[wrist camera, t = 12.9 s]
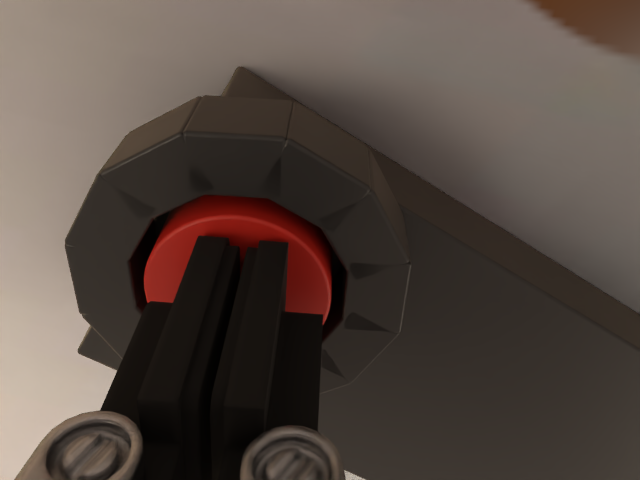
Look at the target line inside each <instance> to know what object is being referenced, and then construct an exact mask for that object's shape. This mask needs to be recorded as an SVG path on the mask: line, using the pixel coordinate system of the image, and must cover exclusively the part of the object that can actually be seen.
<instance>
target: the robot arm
mask: <svg viewBox="0 0 640 480" xmlns="http://www.w3.org/2000/svg"><path fill="white" fill-rule="evenodd" d="M288 249H289V243H288V242H277V241H265V240H260V241H259V244H258V248H256V247H248V248H247V251H246V255H245V259H244V263H243V267H242V272H241V276H240V248H239V246H231V245H230V242H229V238H227V237H214V236H201V235H200V236H198V238H197V240H196V243H195V245H194V248H193V251H192V253H191V256H190V259H189V261H188V264H187V267H186V269H185V272H184V275H183V277H182V280H181V283H180V285H179V288H178V291H177V293H176V296H175V299H174V301H173V303H170V302H157V301H150V302H148V303H147V305H146V307H145V308H144V311H143V313H142V315H141V317H140V320H139V322H138V324H137V327H136V329H135V331H134V334H133V336H132V338H131V341H130V343H129V345H128V347H127V350H126V352H125V354H124V357H123V359H122V361H121V364H120V366H119V368H118V371H117V373H116V375H115V378H114V380H113V382H112V384H111V387H110V389H109V391H108V394H107V396H106V398H105V401H104V403H103V405H102V408H101V410H100V411H93V412H87V413H82V414H79V415H77V416H74V417H72V418H69V419H67V420H65V421H64V422H62V423H61V424H59V425H58V426H56V427H55V428H53V429H52V430H51V431H50V432H49V433H48V434H47V435H46V437H45V438H44V439H43V440H42V441H41V442H40V444H39V445H38V447H37V448H36V449H35V451H34V452H33V454H32V455H31V457H30V458H29V459H28V461H27V462H26V464H25V465H24V467H23V468H22V469H21V471H20V472H19V474H18V475H17V477H16V478H15V479H14V480H346V479H345V473H344V467H343V463H342V460H341V457H340V454H339V451H338V450H337V448H336V447H335V446H334V445H333V443H332V442H331V441H330V440H329V439H328V438H327V437H325V436H324V435H322V434H321V433H319V432H318V415H319V394H320V373H321V351H322V330H323V314H311V313H298V312H285V307H286V288H287V269H288Z"/></svg>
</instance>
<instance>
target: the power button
mask: <svg viewBox="0 0 640 480" xmlns="http://www.w3.org/2000/svg"><path fill="white" fill-rule="evenodd" d="M200 235H201V236H214V237H227V238H229V242H230V245H231V246H239V248H240V276H241V272H242V267H243V263H244V259H245V255H246V251H247V248H248V247H256V248H258V244H259V241H260V240H265V241H277V242H288V243H289V249H288V269H287V288H286V307H285V312H298V313H311V314H323V324H324V323H325V321H326V319H327V316H328V313H329V310H330V305H331V295H332V257H333V248H332V246H331V245H330V243H329V241H328V240H327V238H326V236H325V235H324V233H323V231H322V230H321V228H319V227H318V226H316V225H314V224H312V223H310V222H309V221H307V220H305V219H303V218H302V217H300V216H298V215H296V214H294V213H293V212H291V211H289V210H287V209H286V208H284V207H282V206H280V205H278V204H277V203H275V202H273V201H271V200H270V199H268V198H251V197H234V196H217V195H203V196H201V197H199V198H197V199H195V200H192V201H190V202H188V203H186V204H184V205H182V206H180V207H177V208H175V209H173V210H171V211H170V213H169V215H168V217H167V219H166V222H165V224H164V226H163V228H162V230H161V232H160V234H159V237H158V239H157V241H156V243H155V245H154V247H153V249H152V251H151V254H150V256H149V258H148V260H147V263H146V267H145V272H144V290H145V295H146V299H147V302H150V301H157V302H170V303H173V301H174V299H175V296H176V293H177V291H178V288H179V285H180V283H181V280H182V277H183V275H184V272H185V269H186V267H187V264H188V261H189V259H190V256H191V253H192V251H193V248H194V245H195V243H196V240H197V238H198V236H200Z"/></svg>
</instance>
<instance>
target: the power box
mask: <svg viewBox="0 0 640 480" xmlns="http://www.w3.org/2000/svg"><path fill="white" fill-rule="evenodd" d="M203 195H217V196H234V197H251V198H268V199H270V200H271V201H273V202H275V203H277V204H278V205H280V206H282V207H284V208H286V209H287V210H289V211H291V212H293V213H294V214H296V215H298V216H300V217H302V218H303V219H305V220H307V221H309V222H310V223H312V224H314V225H316V226H318V227H319V228H321V230H322V231H323V233H324V235H325V236H326V238H327V240H328V241H329V243H330V245H331V246H332V248H333V257H332V295H331V305H330V310H329V313H328V316H327V319H326V321H325V323H324V324H323V330H322V351H321V373H320V394H319V415H318V432H319V433H321V434H322V435H324V436H325V437H327V438H328V439H329V440H330V441H331V442H332V443H333V445H334V446H335V447H336V448H337V450H338V451H339V454H340V457H341V460H342V463H343V467H344V470H346V471H348V472H350V473H352V474H355V475H357V476H359V477H362V478H364V479H366V480H640V315H639V314H638V313H636V312H635V311H633V310H631V309H630V308H628V307H626V306H625V305H623V304H622V303H620V302H618V301H617V300H615V299H614V298H612V297H610V296H609V295H607V294H606V293H604V292H602V291H601V290H599V289H598V288H596V287H594V286H593V285H591V284H590V283H588V282H586V281H585V280H583V279H582V278H580V277H578V276H577V275H575V274H574V273H572V272H570V271H569V270H567V269H566V268H564V267H562V266H561V265H559V264H557V263H556V262H554V261H553V260H551V259H549V258H548V257H546V256H545V255H543V254H541V253H540V252H538V251H537V250H535V249H533V248H532V247H530V246H529V245H527V244H525V243H524V242H522V241H521V240H519V239H517V238H516V237H514V236H513V235H511V234H509V233H508V232H506V231H505V230H503V229H501V228H500V227H498V226H497V225H495V224H493V223H492V222H490V221H489V220H487V219H485V218H484V217H482V216H480V215H479V214H477V213H476V212H474V211H472V210H471V209H469V208H468V207H466V206H464V205H463V204H461V203H460V202H458V201H456V200H455V199H453V198H452V197H450V196H448V195H447V194H445V193H444V192H442V191H440V190H439V189H437V188H436V187H434V186H432V185H431V184H429V183H428V182H426V181H424V180H423V179H421V178H420V177H418V176H416V175H415V174H413V173H411V172H410V171H408V170H407V169H405V168H403V167H402V166H400V165H399V164H397V163H395V162H394V161H392V160H391V159H389V158H387V157H386V156H384V155H383V154H381V153H379V152H378V151H376V150H375V149H373V148H371V147H370V146H368V145H367V144H365V143H363V142H362V141H360V140H359V139H357V138H355V137H354V136H352V135H351V134H349V133H347V132H346V131H344V130H343V129H341V128H339V127H338V126H336V125H334V124H333V123H331V122H330V121H328V120H326V119H325V118H323V117H322V116H320V115H318V114H317V113H315V112H314V111H312V110H310V109H309V108H307V107H306V106H304V105H302V104H301V103H299V102H298V101H296V100H294V99H293V98H291V97H290V96H288V95H286V94H285V93H283V92H282V91H280V90H278V89H277V88H275V87H274V86H272V85H270V84H269V83H267V82H265V81H264V80H262V79H261V78H259V77H257V76H256V75H254V74H253V73H251V72H249V71H248V70H246V69H245V68H243V67H240V66H239V67H238V68H237V69H236V71H235V72H234V74H233V76H232V78H231V79H230V81H229V83H228V84H227V86H226V88H225V90H224V91H223V93H222V95H221V96H207V95H205V96H203V97H201V96H199V97H196V98H194V99H192V100H191V101H189V102H187V103H185V104H183V105H181V106H179V107H177V108H175V109H173V110H171V111H169V112H167V113H165V114H163V115H162V116H160V117H158V118H156V119H154V120H152V121H150V122H148V123H146V124H144V125H142V126H140V127H138V128H136V129H135V130H133V131H131V132H129V134H128V135H126V136H125V138H124V139H123V140H122V142H121V143H120V144H119V146H118V147H117V148H116V150H115V151H114V152H113V154H112V155H111V157H110V158H109V159H108V161H107V162H106V163H105V165H104V166H103V167H102V169H101V170H100V171H99V173H98V174H97V176H96V178H95V180H94V182H93V184H92V186H91V188H90V190H89V192H88V194H87V196H86V198H85V200H84V202H83V204H82V206H81V208H80V210H79V212H78V214H77V216H76V218H75V221H74V223H73V225H72V227H71V229H70V231H69V233H68V235H67V237H66V239H65V249H66V254H67V258H68V263H69V267H70V272H71V276H72V281H73V285H74V290H75V294H76V299H77V304H78V308H79V312H80V314H82V316H83V318H84V319H85V320H86V321H87V322H88V323H89V324H90V327H89V329H88V331H87V333H86V335H85V337H84V339H83V341H82V342H81V344H80V346H79V348H78V353H79V354H81V355H83V356H85V357H88V358H90V359H92V360H94V361H97V362H99V363H101V364H104V365H106V366H108V367H110V368H113V369H115V370H117V371H118V368H119V366H120V364H121V361H122V359H123V357H124V354H125V352H126V350H127V347H128V345H129V343H130V341H131V338H132V336H133V334H134V331H135V329H136V327H137V324H138V322H139V320H140V317H141V315H142V313H143V311H144V308H145V307H146V305H147V303H148V302H147V299H146V295H145V290H144V272H145V267H146V263H147V260H148V258H149V256H150V254H151V251H152V249H153V247H154V245H155V243H156V241H157V239H158V237H159V234H160V232H161V230H162V228H163V226H164V224H165V222H166V219H167V217H168V215H169V213H170V211H171V210H173V209H175V208H177V207H180V206H182V205H184V204H186V203H188V202H190V201H192V200H195V199H197V198H199V197H201V196H203Z"/></svg>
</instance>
